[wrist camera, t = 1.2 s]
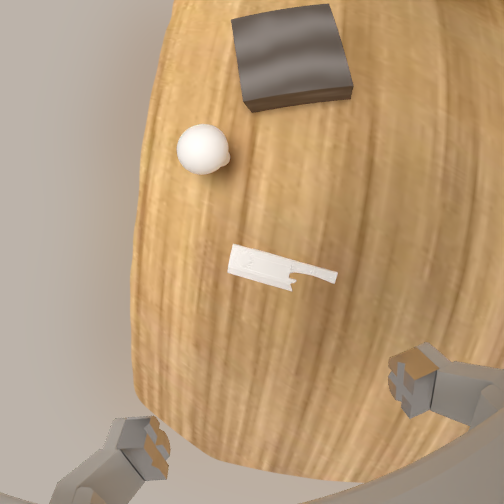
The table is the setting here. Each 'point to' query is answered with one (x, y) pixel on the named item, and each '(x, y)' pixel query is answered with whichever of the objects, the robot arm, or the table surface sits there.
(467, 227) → the table surface
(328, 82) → the charcoal block
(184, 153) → the lightbulb
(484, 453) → the robot arm
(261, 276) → the white plastic blade
